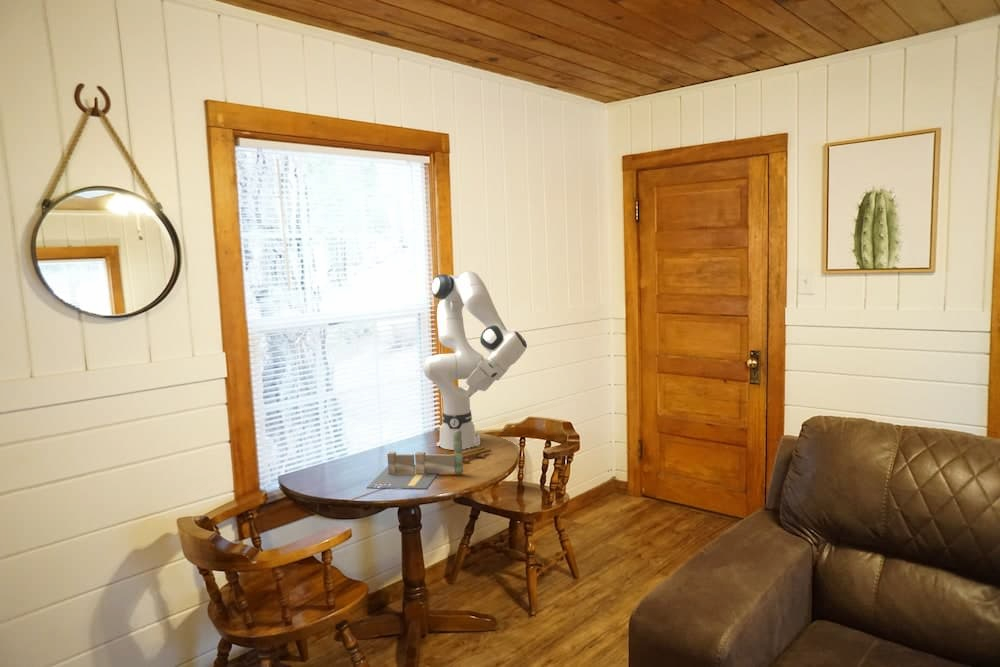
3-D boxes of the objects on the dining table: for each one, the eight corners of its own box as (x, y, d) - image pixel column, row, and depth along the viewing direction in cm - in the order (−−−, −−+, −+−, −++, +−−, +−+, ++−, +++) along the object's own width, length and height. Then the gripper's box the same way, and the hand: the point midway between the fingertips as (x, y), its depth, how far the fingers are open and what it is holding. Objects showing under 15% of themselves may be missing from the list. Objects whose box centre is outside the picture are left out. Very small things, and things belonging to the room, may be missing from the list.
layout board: (389, 465, 254) (389, 464, 254) (443, 466, 251) (443, 464, 251) (366, 488, 228) (366, 487, 228) (426, 489, 225) (426, 487, 225)
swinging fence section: (418, 471, 243) (416, 430, 242) (463, 471, 241) (462, 430, 239) (416, 473, 240) (413, 432, 239) (462, 474, 238) (460, 432, 236)
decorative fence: (429, 463, 252) (446, 468, 245) (429, 458, 252) (446, 463, 245) (478, 450, 270) (495, 455, 263) (478, 445, 270) (495, 450, 263)
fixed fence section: (390, 471, 245) (389, 451, 244) (415, 472, 243) (414, 452, 242) (388, 473, 242) (387, 453, 241) (413, 474, 241) (412, 453, 240)
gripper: (492, 365, 257) (468, 391, 257) (479, 360, 237) (453, 388, 238) (504, 377, 255) (479, 403, 256) (491, 373, 235) (465, 401, 236)
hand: (466, 396), depth 247 cm, fingers closed
